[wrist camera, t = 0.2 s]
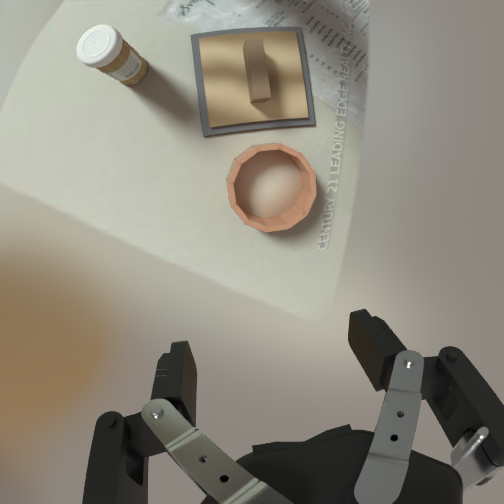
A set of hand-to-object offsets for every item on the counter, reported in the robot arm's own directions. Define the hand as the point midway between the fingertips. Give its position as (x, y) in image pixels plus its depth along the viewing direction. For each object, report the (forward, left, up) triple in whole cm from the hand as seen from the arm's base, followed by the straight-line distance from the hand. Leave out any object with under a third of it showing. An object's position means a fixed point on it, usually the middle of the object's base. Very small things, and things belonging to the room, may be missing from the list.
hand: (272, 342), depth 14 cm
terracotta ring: (-3, +5, -28) cm, 29 cm away
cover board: (-18, +5, -28) cm, 33 cm away
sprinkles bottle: (-22, -11, -29) cm, 38 cm away
